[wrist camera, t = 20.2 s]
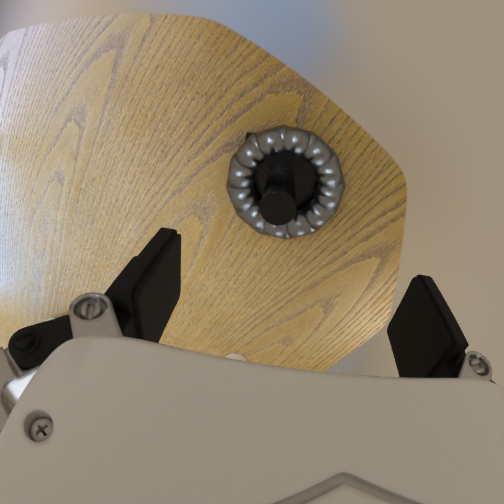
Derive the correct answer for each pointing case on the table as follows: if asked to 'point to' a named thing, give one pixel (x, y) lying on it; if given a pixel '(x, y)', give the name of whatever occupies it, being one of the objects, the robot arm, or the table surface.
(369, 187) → the table surface
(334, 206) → the dark gray twisted ring
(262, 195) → the black peg stand
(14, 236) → the table surface
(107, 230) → the table surface
